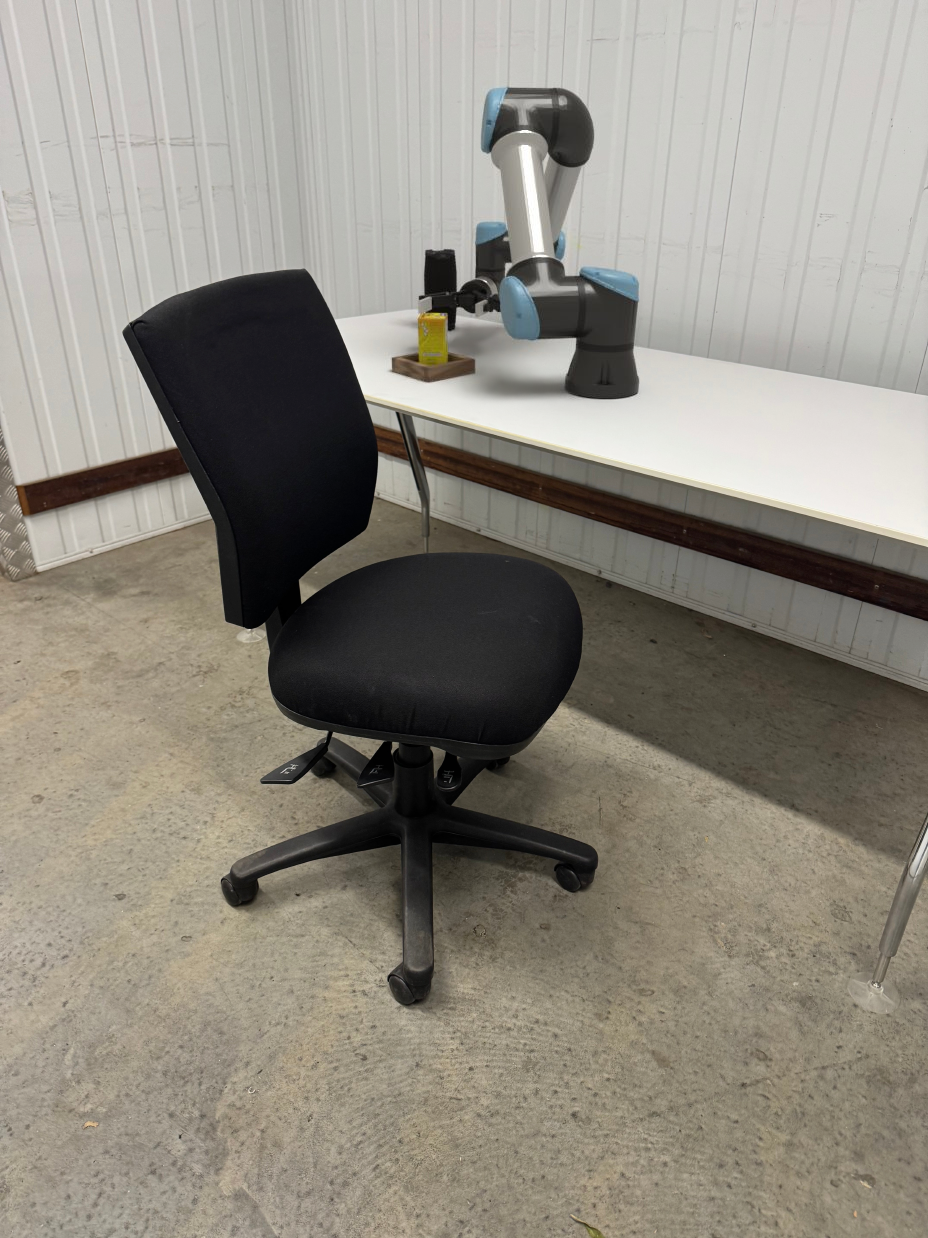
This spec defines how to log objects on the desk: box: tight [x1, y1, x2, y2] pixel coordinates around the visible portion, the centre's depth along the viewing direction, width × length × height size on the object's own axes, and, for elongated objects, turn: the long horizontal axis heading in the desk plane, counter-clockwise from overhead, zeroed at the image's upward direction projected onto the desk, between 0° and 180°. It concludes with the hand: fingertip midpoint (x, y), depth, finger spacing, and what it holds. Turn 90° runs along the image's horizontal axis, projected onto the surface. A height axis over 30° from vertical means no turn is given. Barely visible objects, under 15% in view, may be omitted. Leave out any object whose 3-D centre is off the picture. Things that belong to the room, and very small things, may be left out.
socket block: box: [391, 351, 476, 383], centre depth 196 cm, size 13×13×3 cm
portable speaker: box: [423, 248, 458, 332], centre depth 234 cm, size 9×9×20 cm
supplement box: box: [417, 312, 449, 366], centre depth 193 cm, size 6×6×11 cm
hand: (448, 308), depth 199 cm, fingers open, 13 cm apart
